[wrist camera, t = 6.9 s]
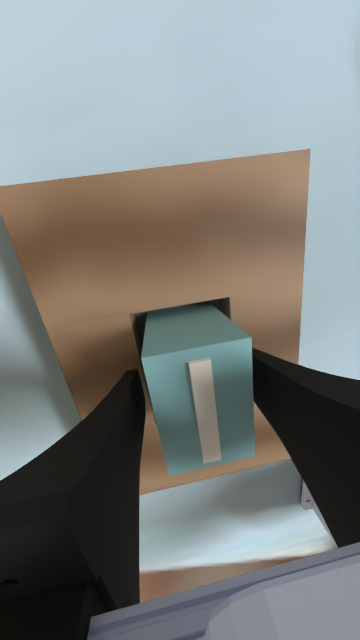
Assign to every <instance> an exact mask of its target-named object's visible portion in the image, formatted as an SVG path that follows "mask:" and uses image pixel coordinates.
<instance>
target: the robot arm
mask: <svg viewBox="0 0 360 640" xmlns="http://www.w3.org/2000/svg"><path fill="white" fill-rule="evenodd" d="M252 368H253V401H254V402H255V404H256V405H257V407H258V408H259V410H260V411H261V412H262V414H263V415H264V417H265V418H266V419H267V421H268V422H269V424H270V425H271V426H272V428H273V429H274V431H275V432H276V434H277V435H278V437H279V438H280V440H281V442H282V443H283V445H284V447H285V448H286V450H287V452H288V454H289V455H290V457H291V459H292V461H293V462H294V464H295V466H296V468H297V470H298V471H299V473H300V475H301V477H302V479H303V485H302V497H301V506H302V508H303V509H305V510H308V509H312V508H313V510H314V512H315V513H316V515H317V516H318V518H319V520H320V521H321V523H322V524H323V526H324V528H325V529H326V531H327V532H328V534H329V536H330V537H331V539H332V540H333V542H334V543H335V545H336V547H337V549H333V550H330V551H326V552H323V553H319V554H315V555H312V556H308V557H305V558H301V559H297V560H294V561H290V562H287V563H283V564H279V565H276V566H272V567H269V568H265V569H262V570H258V571H255V572H251V573H247V574H244V575H240V576H236V577H233V578H229V579H226V580H222V581H218V582H215V583H211V584H208V585H204V586H200V587H197V588H193V589H190V590H186V591H182V592H179V593H175V594H172V595H168V596H164V597H161V598H158V599H154V600H150V601H146V602H143V603H140V598H139V597H140V596H139V595H140V591H139V488H140V463H141V453H142V445H143V436H144V427H145V417H146V408H145V396H144V392H143V388H142V384H141V380H140V376H139V372H138V369H133V370H128V371H126V372H125V373H124V374H123V376H122V377H121V378H120V379H119V381H118V382H117V383H116V385H115V386H114V387H113V388H112V389H111V391H110V392H109V393H108V394H107V395H106V396H105V398H104V399H103V400H102V401H101V402H100V403H99V404H98V405H97V406H96V407H95V408H94V409H93V411H92V412H91V413H89V414H88V415H87V416H86V417H85V418H84V419H83V420H82V421H81V422H80V423H79V424H78V425H77V426H75V427H74V428H73V429H72V430H71V431H70V432H68V433H67V434H66V435H65V436H63V437H62V438H61V439H60V440H58V441H57V442H56V443H55V444H53V445H52V446H51V447H50V448H48V449H47V450H45V451H44V452H43V453H41V454H40V455H39V456H37V457H36V458H34V459H33V460H31V461H30V462H29V463H27V464H26V465H24V466H23V467H21V468H20V469H18V470H17V471H15V472H14V473H12V474H11V475H9V476H7V477H6V478H4V479H3V480H1V481H0V640H360V380H355V379H350V378H345V377H340V376H336V375H332V374H328V373H324V372H320V371H317V370H313V369H310V368H306V367H303V366H300V365H297V364H294V363H291V362H289V361H286V360H283V359H281V358H278V357H276V356H273V355H271V354H268V353H266V352H263V351H260V350H258V349H255V348H252Z"/></svg>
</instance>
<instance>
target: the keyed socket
mask: <svg viewBox="0 0 360 640" xmlns="http://www.w3.org/2000/svg"><path fill="white" fill-rule="evenodd" d="M309 165H310V149H307V150H298V151H290V152H282V153H274V154H265V155H257V156H249V157H240V158H232V159H224V160H215V161H207V162H199V163H191V164H182V165H174V166H166V167H157V168H149V169H141V170H133V171H124V172H116V173H108V174H99V175H91V176H83V177H74V178H66V179H58V180H50V181H41V182H33V183H25V184H16V185H8V186H0V213H1V216H2V219H3V221H4V224H5V226H6V229H7V231H8V234H9V236H10V239H11V241H12V244H13V247H14V249H15V252H16V254H17V257H18V259H19V262H20V264H21V267H22V269H23V272H24V275H25V277H26V280H27V282H28V285H29V287H30V290H31V292H32V295H33V298H34V300H35V303H36V305H37V308H38V310H39V313H40V315H41V318H42V320H43V323H44V326H45V328H46V331H47V333H48V336H49V338H50V341H51V343H52V346H53V348H54V351H55V354H56V356H57V359H58V361H59V364H60V366H61V369H62V371H63V374H64V376H65V379H66V382H67V384H68V387H69V389H70V392H71V394H72V397H73V399H74V402H75V404H76V407H77V410H78V412H79V415H80V417H81V420H83V419H84V418H85V417H86V416H87V415H88V414H89V413H91V412H92V411H93V409H94V408H95V407H96V406H97V405H98V404H99V403H100V402H101V401H102V400H103V399H104V398H105V396H106V395H107V394H108V393H109V392H110V391H111V389H112V388H113V387H114V386H115V385H116V383H117V382H118V381H119V379H120V378H121V377H122V376H123V374H124V373H125V372H126V371H128V370H133V369H138V372H139V376H140V380H141V384H142V388H143V392H144V396H145V408H146V417H145V427H144V436H143V445H142V453H141V463H140V488H139V495H142V494H146V493H150V492H154V491H158V490H162V489H167V488H171V487H175V486H179V485H183V484H188V483H192V482H196V481H200V480H204V479H209V478H213V477H217V476H221V475H225V474H229V473H234V472H238V471H242V470H246V469H250V468H255V467H259V466H263V465H267V464H271V463H276V462H280V461H284V460H288V459H291V457H290V455H289V454H288V452H287V450H286V448H285V447H284V445H283V443H282V442H281V440H280V438H279V437H278V435H277V434H276V432H275V431H274V429H273V428H272V426H271V425H270V424H269V422H268V421H267V419H266V418H265V417H264V415H263V414H262V412H261V411H260V410H259V408H258V407H257V405H256V404H255V402H254V401H253V403H254V437H255V456H254V457H250V458H246V459H241V460H237V461H233V462H228V463H224V464H220V465H216V466H211V467H207V468H203V469H199V470H194V471H190V472H186V473H181V474H177V475H173V476H169V474H168V470H167V466H166V461H165V457H164V453H163V449H162V445H161V440H160V436H159V432H158V428H157V423H156V419H155V415H154V411H153V406H152V402H151V398H150V394H149V389H148V385H147V381H146V377H145V373H144V368H143V364H142V360H141V356H142V348H143V340H144V333H145V325H146V318H147V312H151V311H157V310H163V309H168V308H174V307H180V306H186V305H192V304H197V303H203V302H210V303H211V304H212V305H213V306H214V307H216V308H217V309H218V310H219V311H220V312H222V313H223V314H224V315H225V316H226V317H228V318H229V319H230V320H231V321H232V322H234V323H235V324H236V325H237V326H238V327H240V328H241V329H242V330H243V331H244V332H246V333H247V334H248V335H249V336H251V337H252V348H255V349H258V350H260V351H263V352H266V353H268V354H271V355H273V356H276V357H278V358H281V359H283V360H286V361H289V362H291V363H294V364H297V365H298V358H299V340H300V323H301V305H302V288H303V270H304V252H305V235H306V217H307V200H308V182H309Z"/></svg>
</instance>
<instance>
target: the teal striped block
mask: <svg viewBox="0 0 360 640" xmlns="http://www.w3.org/2000/svg"><path fill="white" fill-rule="evenodd" d="M141 360H142V364H143V368H144V373H145V377H146V381H147V385H148V389H149V394H150V398H151V402H152V406H153V411H154V415H155V419H156V423H157V428H158V432H159V436H160V440H161V445H162V449H163V453H164V457H165V461H166V466H167V470H168V474H169V476H173V475H177V474H181V473H186V472H190V471H194V470H199V469H203V468H207V467H211V466H216V465H220V464H224V463H228V462H233V461H237V460H241V459H246V458H250V457H254V456H255V437H254V403H253V368H252V337H251V336H249V335H248V334H247V333H246V332H244V331H243V330H242V329H241V328H240V327H238V326H237V325H236V324H235V323H234V322H232V321H231V320H230V319H229V318H228V317H226V316H225V315H224V314H223V313H222V312H220V311H219V310H218V309H217V308H216V307H214V306H213V305H212V304H211V303H210V302H203V303H197V304H192V305H186V306H180V307H174V308H168V309H163V310H157V311H151V312H147V318H146V325H145V333H144V340H143V348H142V356H141Z"/></svg>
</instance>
